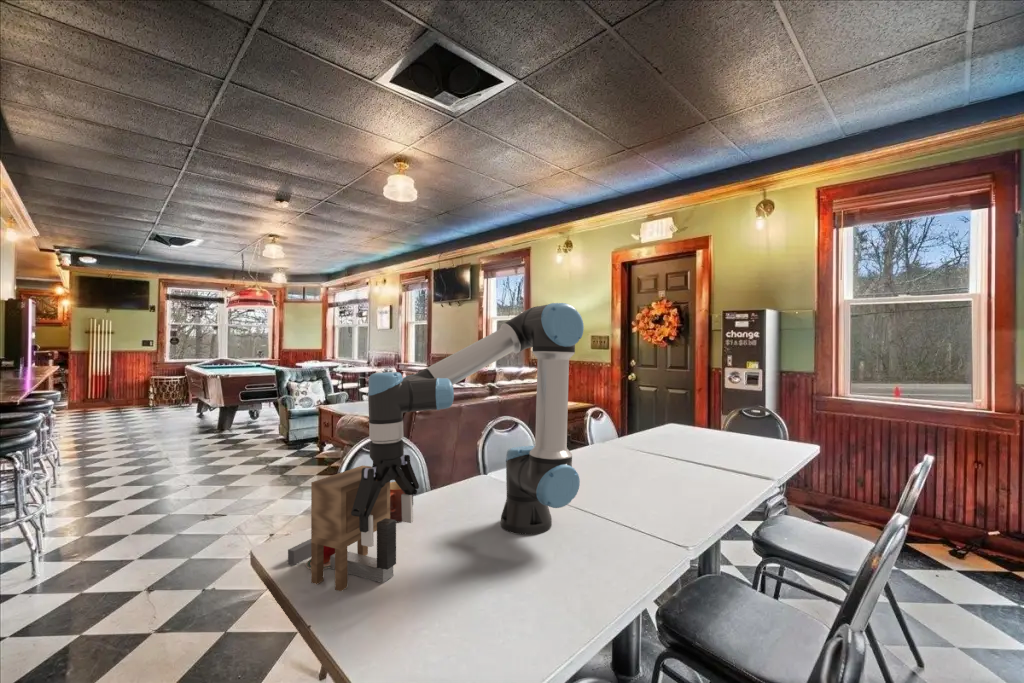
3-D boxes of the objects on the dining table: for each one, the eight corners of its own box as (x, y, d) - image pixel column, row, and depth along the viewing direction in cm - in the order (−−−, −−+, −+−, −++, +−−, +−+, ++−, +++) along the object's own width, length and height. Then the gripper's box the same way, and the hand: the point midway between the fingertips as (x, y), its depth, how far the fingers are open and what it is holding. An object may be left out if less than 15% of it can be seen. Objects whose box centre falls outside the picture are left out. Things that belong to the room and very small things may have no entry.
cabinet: (394, 560, 111) (393, 469, 111) (345, 592, 96) (345, 488, 97) (362, 552, 115) (362, 465, 115) (311, 582, 101) (311, 482, 101)
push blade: (396, 576, 103) (396, 519, 103) (386, 583, 99) (386, 525, 100) (341, 562, 110) (341, 509, 110) (330, 568, 107) (330, 513, 107)
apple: (320, 574, 104) (320, 546, 104) (298, 566, 108) (298, 539, 108) (348, 560, 111) (348, 534, 111) (327, 553, 115) (327, 527, 115)
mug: (391, 512, 144) (391, 480, 144) (416, 514, 142) (416, 481, 142) (372, 527, 132) (372, 492, 132) (400, 529, 130) (400, 493, 130)
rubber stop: (320, 551, 116) (320, 538, 116) (293, 565, 109) (293, 551, 109) (314, 550, 117) (314, 537, 117) (288, 563, 109) (288, 549, 109)
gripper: (407, 429, 115) (409, 511, 115) (331, 451, 92) (334, 553, 92) (431, 430, 112) (433, 515, 112) (359, 454, 89) (361, 560, 89)
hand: (388, 533), depth 102 cm, fingers open, 13 cm apart
